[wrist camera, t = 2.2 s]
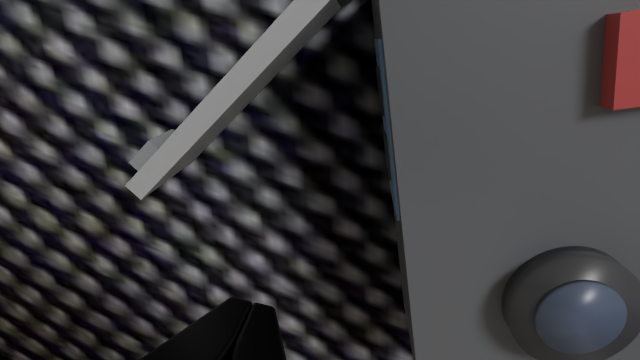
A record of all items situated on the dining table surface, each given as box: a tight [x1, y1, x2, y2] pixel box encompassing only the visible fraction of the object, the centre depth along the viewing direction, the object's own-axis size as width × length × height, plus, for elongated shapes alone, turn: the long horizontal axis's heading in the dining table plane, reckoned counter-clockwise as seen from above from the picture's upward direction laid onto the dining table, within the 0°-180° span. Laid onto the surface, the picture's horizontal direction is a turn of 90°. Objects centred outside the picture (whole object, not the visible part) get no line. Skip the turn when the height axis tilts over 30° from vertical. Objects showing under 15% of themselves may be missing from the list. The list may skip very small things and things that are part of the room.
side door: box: [125, 0, 350, 200], centre depth 14 cm, size 10×2×5 cm, turn 134°
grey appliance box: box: [371, 0, 640, 360], centre depth 14 cm, size 14×9×6 cm, turn 9°
